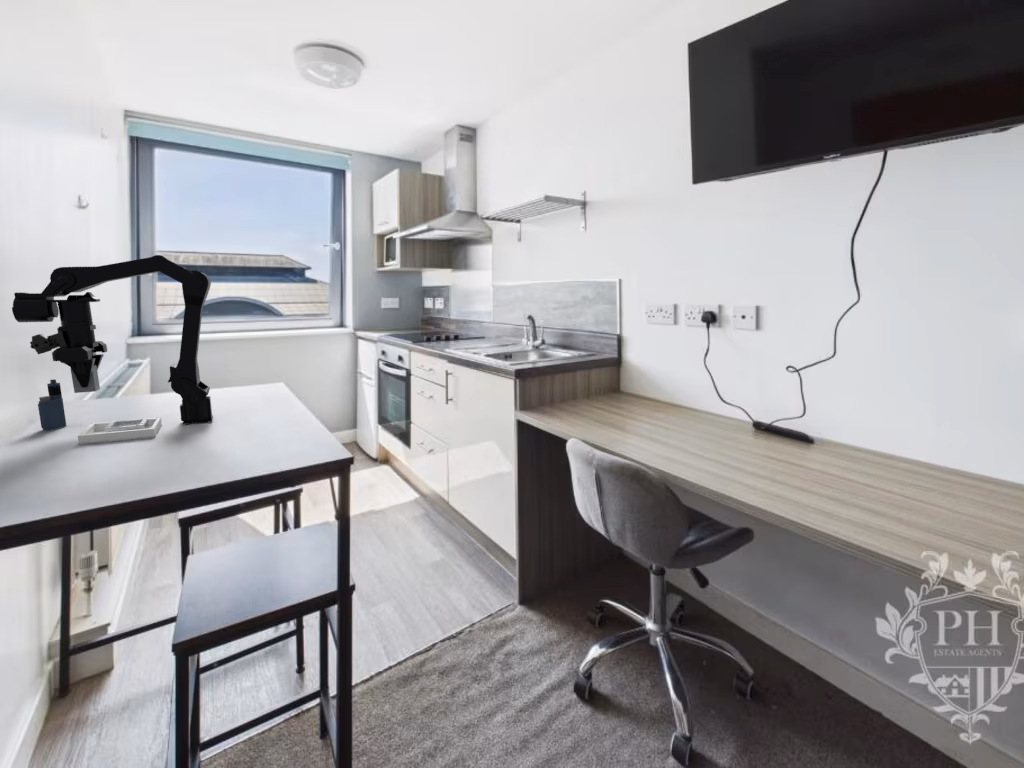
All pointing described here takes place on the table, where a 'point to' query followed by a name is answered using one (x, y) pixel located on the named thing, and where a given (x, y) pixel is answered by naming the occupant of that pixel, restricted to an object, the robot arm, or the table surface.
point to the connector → (92, 384)
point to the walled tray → (97, 432)
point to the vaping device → (52, 408)
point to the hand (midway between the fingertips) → (87, 385)
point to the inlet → (127, 425)
